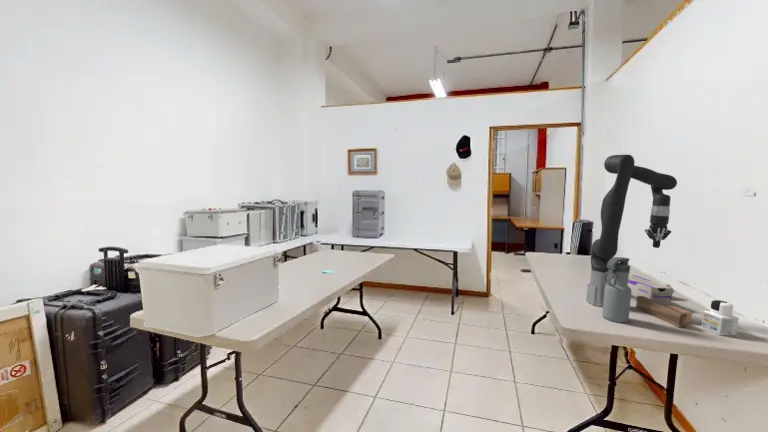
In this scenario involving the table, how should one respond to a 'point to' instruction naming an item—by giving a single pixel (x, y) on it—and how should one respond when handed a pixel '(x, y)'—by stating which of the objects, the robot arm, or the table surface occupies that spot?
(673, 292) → the die
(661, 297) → the surgical sutures box
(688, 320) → the block
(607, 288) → the water bottle
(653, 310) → the stop board
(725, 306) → the container
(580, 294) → the table surface
